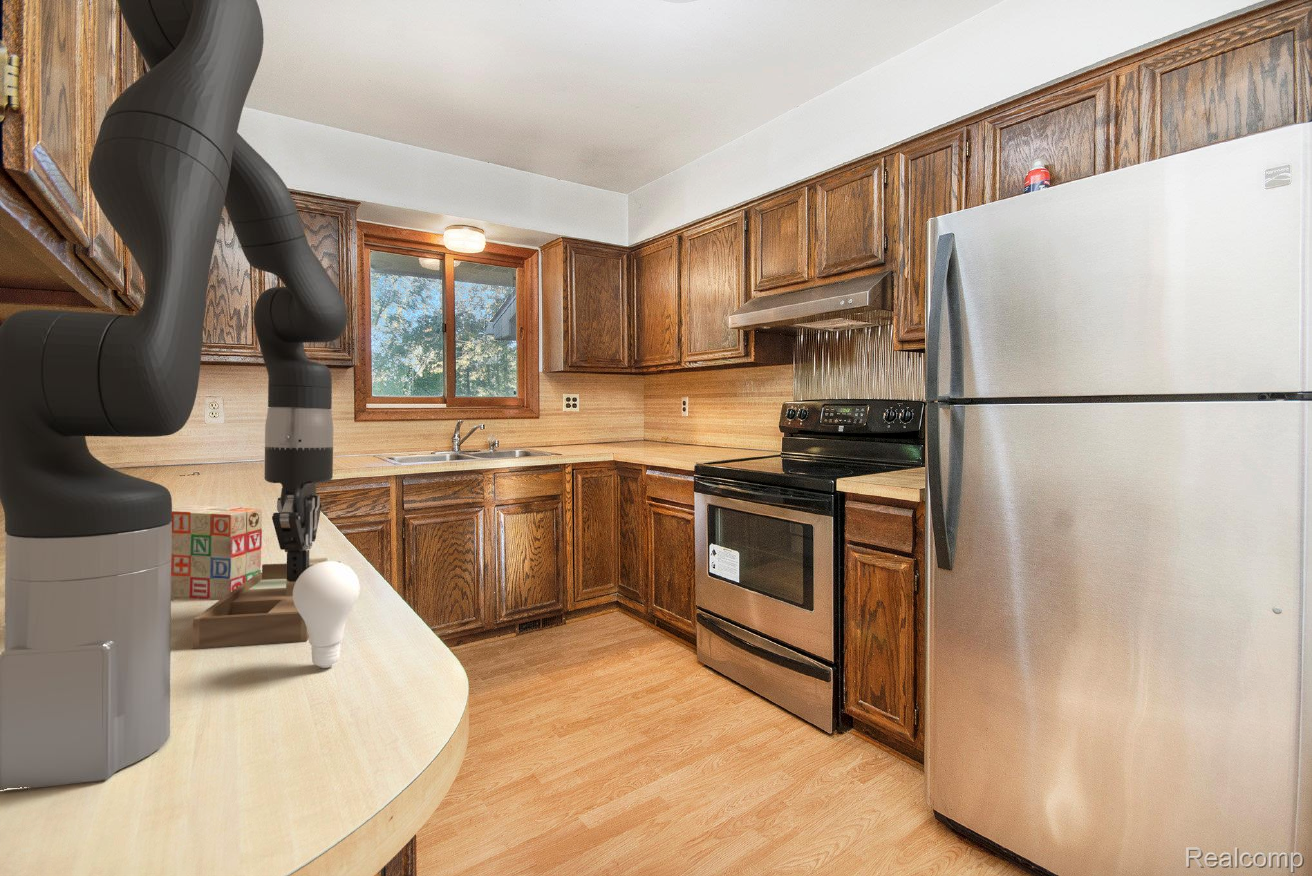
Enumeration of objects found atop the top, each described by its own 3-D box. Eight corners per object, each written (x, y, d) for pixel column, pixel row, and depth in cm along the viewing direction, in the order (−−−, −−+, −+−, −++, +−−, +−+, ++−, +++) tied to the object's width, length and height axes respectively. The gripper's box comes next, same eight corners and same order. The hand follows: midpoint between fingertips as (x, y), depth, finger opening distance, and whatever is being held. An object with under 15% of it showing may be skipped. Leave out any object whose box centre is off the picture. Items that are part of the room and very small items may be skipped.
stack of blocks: (88, 593, 88) (88, 507, 87) (129, 582, 94) (129, 502, 94) (230, 600, 86) (231, 513, 86) (262, 589, 92) (263, 507, 92)
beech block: (320, 594, 81) (320, 564, 81) (286, 596, 80) (286, 565, 80) (327, 586, 85) (327, 557, 85) (294, 588, 84) (295, 558, 84)
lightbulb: (283, 682, 60) (284, 570, 60) (301, 658, 66) (302, 556, 66) (351, 676, 62) (353, 567, 61) (363, 654, 68) (365, 554, 67)
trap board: (306, 641, 71) (307, 602, 71) (192, 649, 68) (193, 608, 68) (344, 591, 91) (344, 561, 91) (258, 595, 88) (258, 564, 88)
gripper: (319, 446, 73) (317, 592, 73) (343, 443, 86) (341, 567, 86) (247, 445, 71) (245, 595, 71) (282, 442, 83) (280, 569, 84)
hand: (297, 580), depth 78 cm, fingers closed
